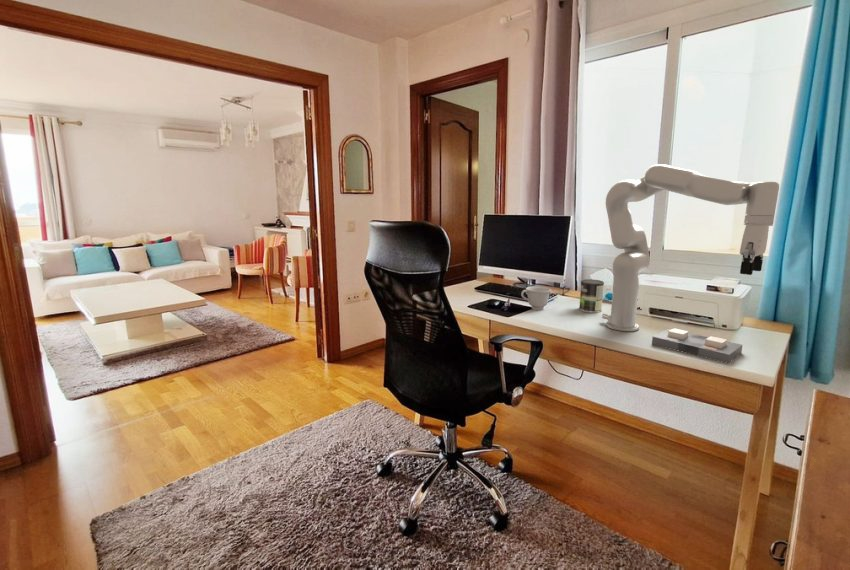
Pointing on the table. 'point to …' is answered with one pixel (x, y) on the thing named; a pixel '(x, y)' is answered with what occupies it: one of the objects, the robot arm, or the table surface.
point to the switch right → (716, 342)
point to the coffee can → (591, 295)
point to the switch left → (678, 334)
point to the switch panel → (698, 346)
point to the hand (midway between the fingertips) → (750, 272)
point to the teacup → (537, 296)
